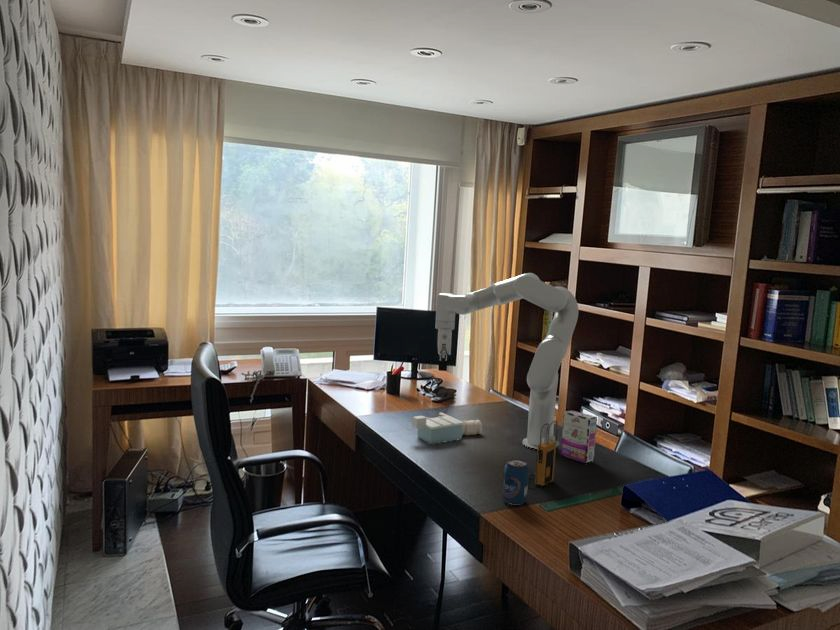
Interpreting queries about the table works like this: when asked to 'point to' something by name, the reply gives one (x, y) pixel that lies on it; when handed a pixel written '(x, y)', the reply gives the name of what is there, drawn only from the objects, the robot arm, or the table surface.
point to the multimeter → (545, 460)
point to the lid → (435, 422)
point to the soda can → (515, 481)
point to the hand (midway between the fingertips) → (442, 367)
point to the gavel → (469, 426)
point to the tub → (440, 434)
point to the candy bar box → (578, 436)
